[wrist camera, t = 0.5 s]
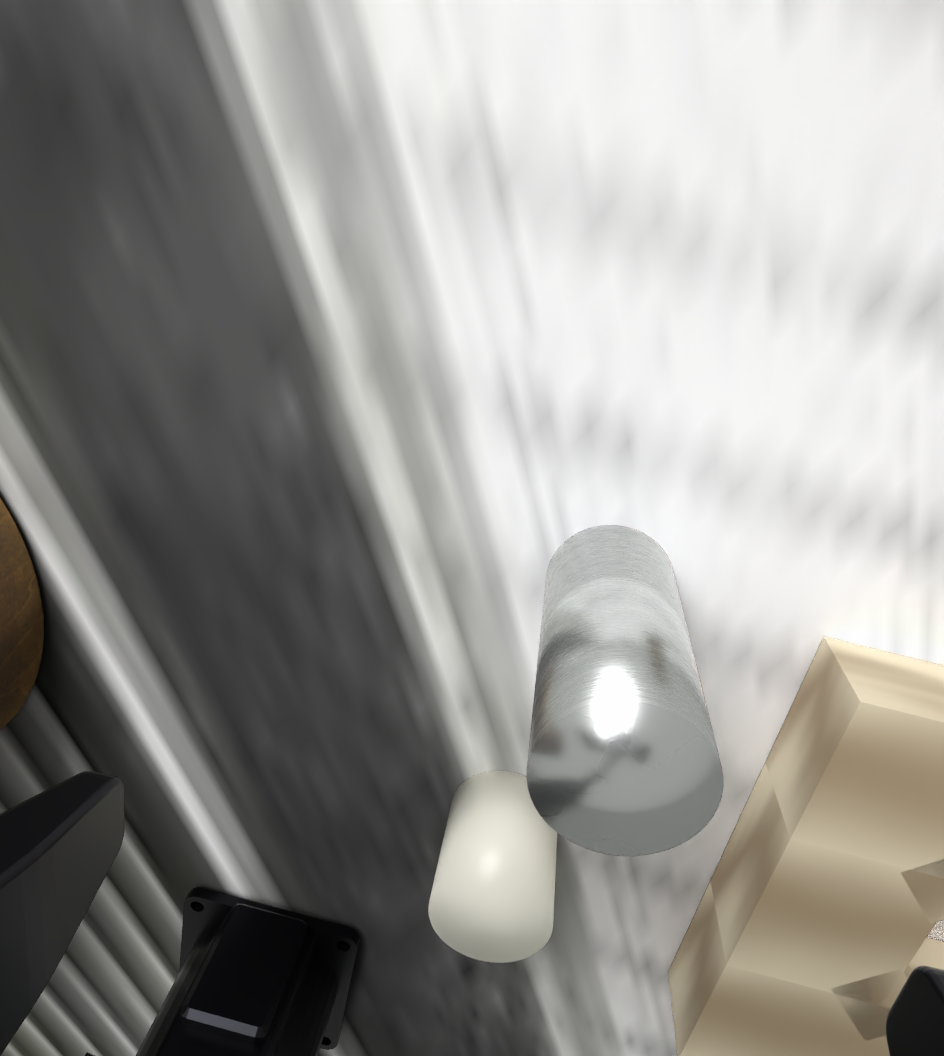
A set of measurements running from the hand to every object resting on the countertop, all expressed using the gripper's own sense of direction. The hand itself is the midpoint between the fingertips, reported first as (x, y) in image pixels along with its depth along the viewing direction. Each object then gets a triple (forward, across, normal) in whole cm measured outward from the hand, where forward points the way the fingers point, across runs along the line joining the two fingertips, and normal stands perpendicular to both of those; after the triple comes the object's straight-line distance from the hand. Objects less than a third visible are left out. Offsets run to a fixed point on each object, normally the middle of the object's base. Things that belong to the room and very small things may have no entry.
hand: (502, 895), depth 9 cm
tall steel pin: (+13, -2, +2) cm, 13 cm away
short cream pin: (+13, -1, +11) cm, 17 cm away
